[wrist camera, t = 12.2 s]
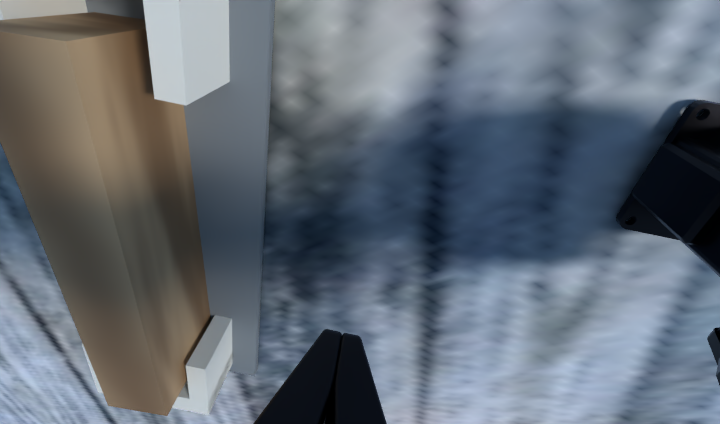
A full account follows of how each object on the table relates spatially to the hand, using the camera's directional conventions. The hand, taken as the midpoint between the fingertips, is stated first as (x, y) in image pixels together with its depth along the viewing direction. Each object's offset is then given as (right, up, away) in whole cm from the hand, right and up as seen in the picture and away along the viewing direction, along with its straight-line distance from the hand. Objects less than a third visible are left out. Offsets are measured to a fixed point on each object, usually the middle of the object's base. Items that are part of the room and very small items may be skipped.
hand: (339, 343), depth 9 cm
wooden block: (-11, +3, +13) cm, 17 cm away
